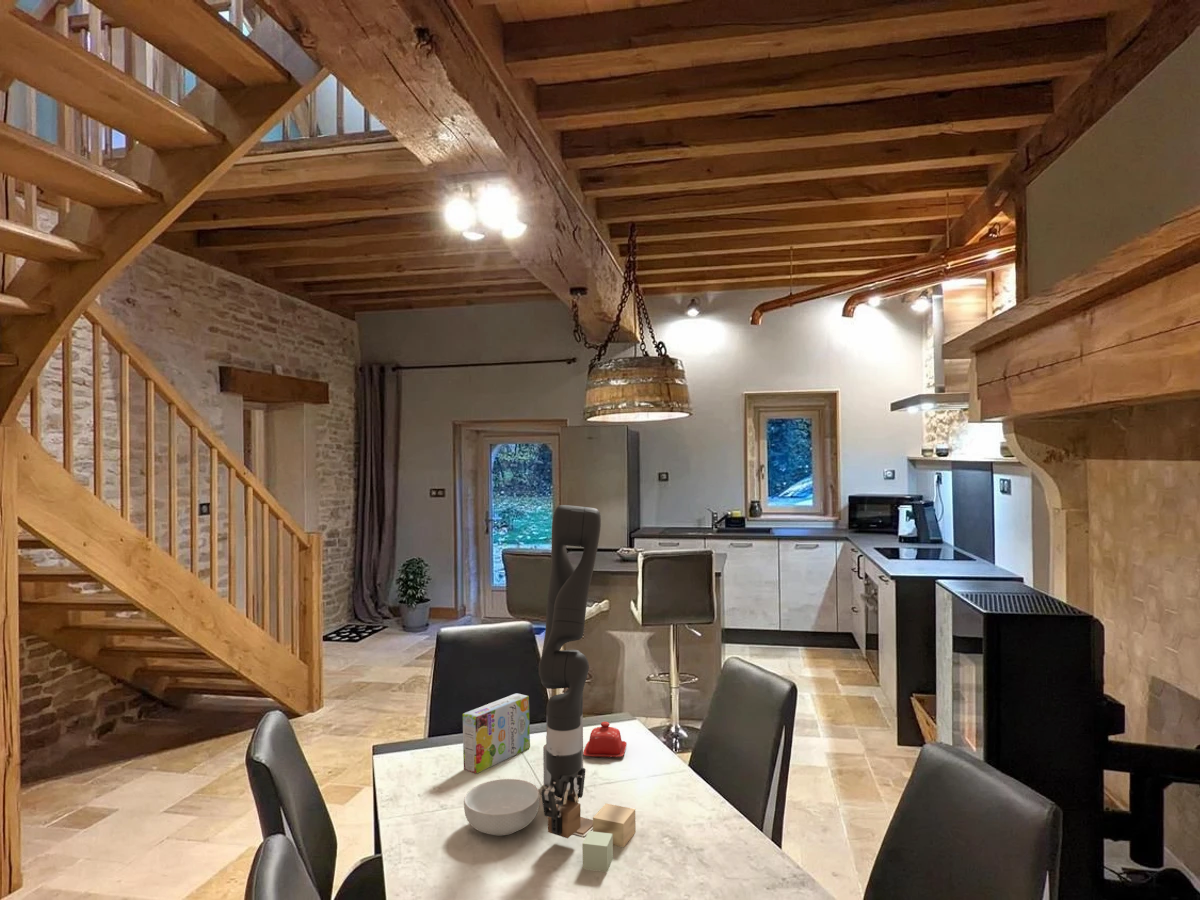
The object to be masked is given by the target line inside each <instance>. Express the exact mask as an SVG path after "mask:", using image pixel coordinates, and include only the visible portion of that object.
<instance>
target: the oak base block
mask: <svg viewBox="0 0 1200 900" xmlns="http://www.w3.org/2000/svg"><path fill="white" fill-rule="evenodd" d="M592 820H593V829H592V831H593V832H602V833H611V834H613V846H616V847H620V848H624V847H625V846H626V845H627V844H628V842H629V841H630V840H631V839H632V837H633V836H634V834H635V833H636V831H637V830H636V809H635V808H633V807H632V808H631V807H626V806H622V805H617V804H612V803H604V805H603V806H602V807H601V808H600V809H599V811H598V812H597V813H596V814H595V815H593V817H592Z"/></svg>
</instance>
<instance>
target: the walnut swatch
mask: <svg viewBox="0 0 1200 900" xmlns="http://www.w3.org/2000/svg"><path fill="white" fill-rule="evenodd" d="M580 823H581V827H580V828H579V829H578V830H577V831H576V832H575V833H574V834H573V835H576V836H580V837H582V838H586V836H587V834H588V832H589V831H593V819H590V818H586V817H582V816H580Z"/></svg>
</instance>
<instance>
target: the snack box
mask: <svg viewBox="0 0 1200 900" xmlns="http://www.w3.org/2000/svg"><path fill="white" fill-rule="evenodd" d="M530 731H531V730H530V697H529V695H526V694H521V693H518V692H517V693H513V694H510V695H508V696H506V697H503V698H500V699H497V700H495V701H492V702H489V703H488V704H487V703H486V704H484V705H482V706H480V707H476V708H474V709H471V710H469V711H466V712H464V713H462V744H463V745H462V749H463V750H462V751H463V752H462V753H463V754H462V755H463V770H464V771H468V772H472V773H474V774H479V773H481V772H483V771H485V770H487V769H489V768H491V767H493V766H495V765H497V764H499V763H501V762H503V761H505V760H507V759H510V758H512V757H514V756H516V755H518V754H521V753H523V752H525V751H527V750H529V749H530V748H531V739H530V738H531V735H530V734H531V733H530Z"/></svg>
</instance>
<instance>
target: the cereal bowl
mask: <svg viewBox="0 0 1200 900" xmlns="http://www.w3.org/2000/svg"><path fill="white" fill-rule="evenodd" d="M539 808H540V790H539V789H538V787H537V786H536V785H534V784H533V782H532V783H531V781H530V782H529V781H527V780H523V779H517V778H499V779H494V780H493V779H492V780H489V781H485V782H482V783H479V784H477V785H475V786H473V787H472V788H471V789H469V790H468V791H467V792H466V793H465V794H464V798H463V811H464V815H465V818H466V821H468V824H469V825H470V826H472V828H474V829H475V830H477V831H479V832H480V833H484V834H488V835H492V836H495V837H497V836H501V837H502V836H508V835H512V834H514V833H515V832H518V831H521V830H522V829H523V828H526V827H527V826H528V825H529V824H531V823H532V822H533V820H534V819H535V818H536V816H537V814H538V812H539Z"/></svg>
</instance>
